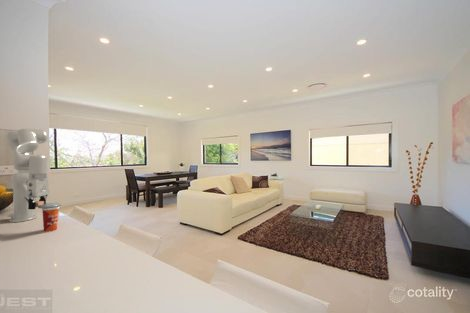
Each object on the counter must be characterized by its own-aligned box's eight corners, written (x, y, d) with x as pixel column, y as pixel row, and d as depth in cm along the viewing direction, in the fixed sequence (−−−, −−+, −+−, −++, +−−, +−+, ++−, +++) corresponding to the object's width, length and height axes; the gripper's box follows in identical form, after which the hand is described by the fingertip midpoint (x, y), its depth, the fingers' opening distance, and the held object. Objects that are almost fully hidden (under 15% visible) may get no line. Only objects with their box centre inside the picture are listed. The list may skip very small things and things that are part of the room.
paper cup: (50, 232, 116) (51, 208, 116) (37, 232, 116) (37, 207, 116) (62, 227, 124) (63, 204, 124) (50, 227, 124) (50, 204, 124)
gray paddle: (65, 204, 125) (65, 199, 125) (52, 208, 115) (52, 203, 115) (40, 204, 123) (40, 200, 123) (25, 208, 114) (25, 204, 113)
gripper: (32, 178, 110) (31, 211, 111) (56, 175, 128) (55, 203, 128) (16, 178, 109) (16, 211, 110) (42, 174, 127) (42, 203, 127)
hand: (37, 207), depth 119 cm, fingers open, 6 cm apart
